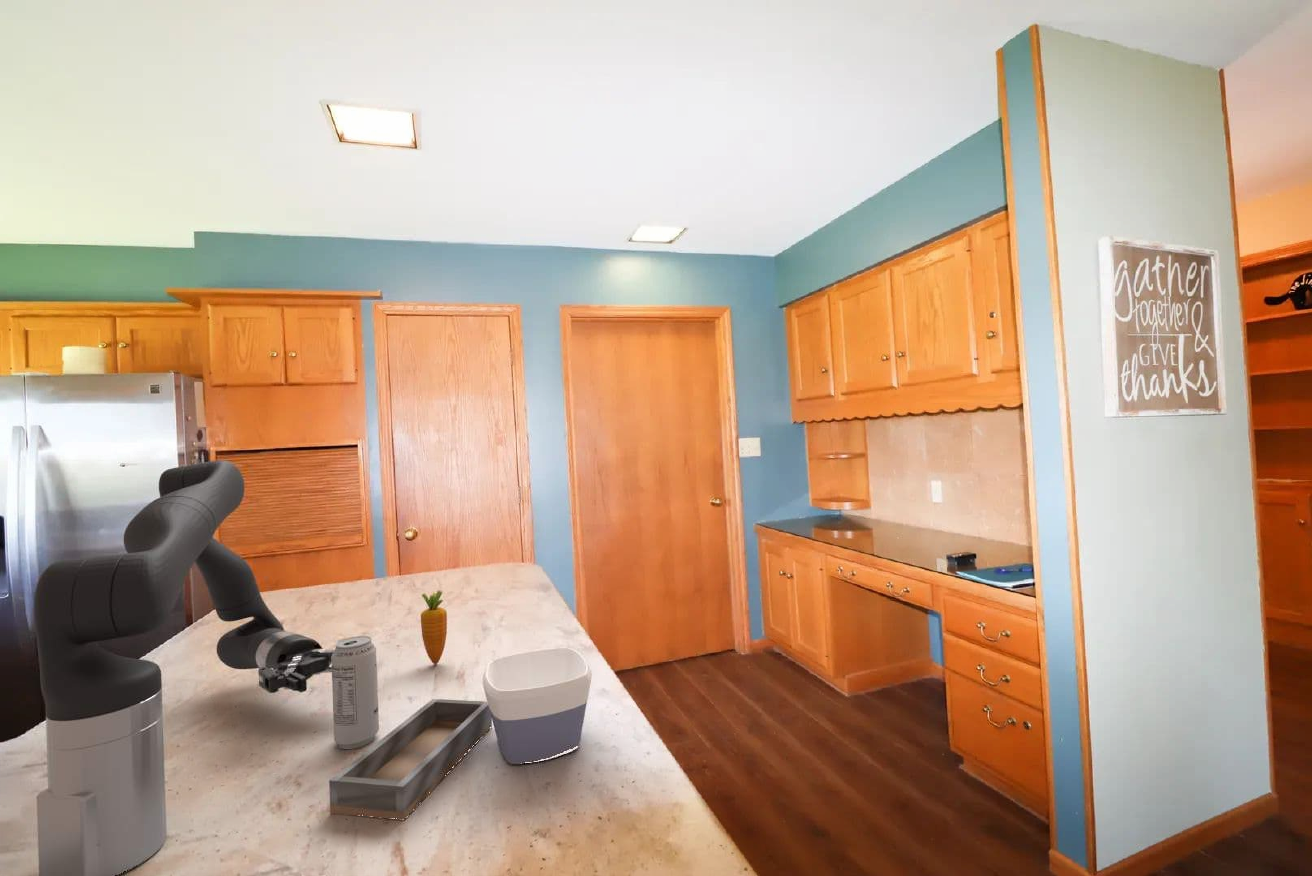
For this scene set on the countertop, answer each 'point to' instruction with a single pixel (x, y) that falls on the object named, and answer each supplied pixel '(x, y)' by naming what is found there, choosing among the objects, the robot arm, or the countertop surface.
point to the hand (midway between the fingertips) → (333, 675)
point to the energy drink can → (355, 692)
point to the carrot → (434, 627)
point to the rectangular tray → (409, 760)
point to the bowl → (537, 702)
